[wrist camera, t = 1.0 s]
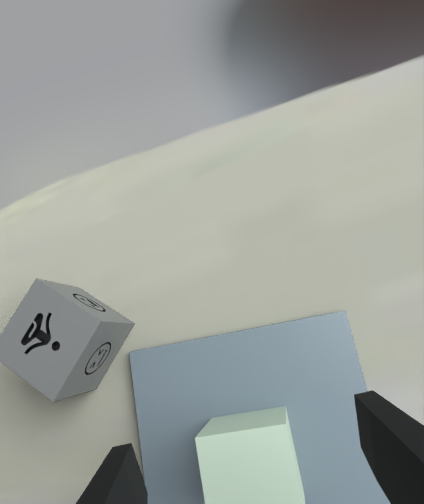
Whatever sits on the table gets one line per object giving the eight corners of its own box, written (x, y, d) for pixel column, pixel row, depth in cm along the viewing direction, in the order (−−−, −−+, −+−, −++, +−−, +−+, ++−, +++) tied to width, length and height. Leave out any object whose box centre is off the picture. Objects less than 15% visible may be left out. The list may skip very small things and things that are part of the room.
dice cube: (80, 288, 27) (36, 278, 22) (135, 323, 25) (101, 321, 21) (43, 349, 26) (-11, 353, 21) (97, 388, 25) (52, 402, 20)
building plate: (415, 575, 19) (419, 582, 19) (162, 598, 21) (159, 605, 21) (344, 311, 23) (345, 310, 22) (132, 351, 25) (129, 352, 24)
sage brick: (303, 491, 21) (309, 532, 16) (225, 500, 21) (211, 543, 17) (285, 406, 22) (286, 423, 17) (211, 417, 22) (194, 437, 18)
